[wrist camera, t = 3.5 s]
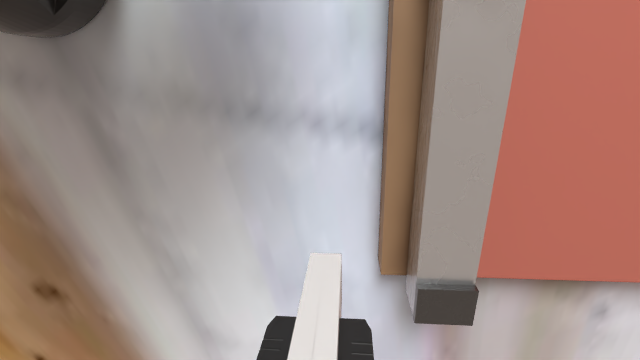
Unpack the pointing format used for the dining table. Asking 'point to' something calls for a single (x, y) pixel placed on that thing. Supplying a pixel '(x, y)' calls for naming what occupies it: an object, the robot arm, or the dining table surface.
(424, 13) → the strip
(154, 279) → the dining table surface
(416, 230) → the swing bar
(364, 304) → the dining table surface
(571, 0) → the door slab
